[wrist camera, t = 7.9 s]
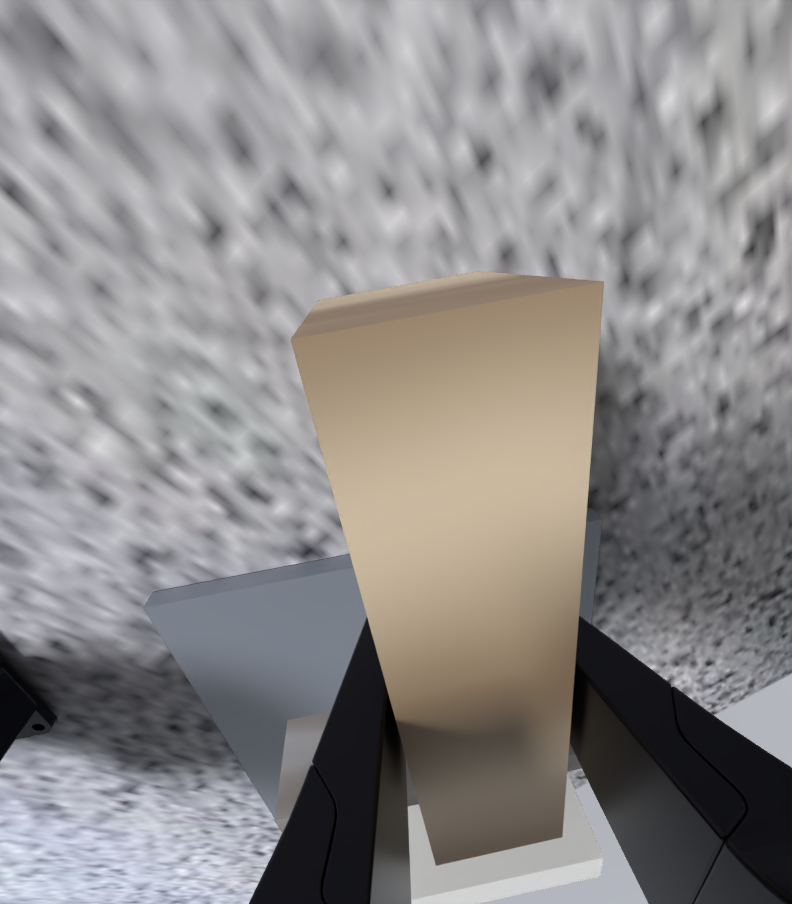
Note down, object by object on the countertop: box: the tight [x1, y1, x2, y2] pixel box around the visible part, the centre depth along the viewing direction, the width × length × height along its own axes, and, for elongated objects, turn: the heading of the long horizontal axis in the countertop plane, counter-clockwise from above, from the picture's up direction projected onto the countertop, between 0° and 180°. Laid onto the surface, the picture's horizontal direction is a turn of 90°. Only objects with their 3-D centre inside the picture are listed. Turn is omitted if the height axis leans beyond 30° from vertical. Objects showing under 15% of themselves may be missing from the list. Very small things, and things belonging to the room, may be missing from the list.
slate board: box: [143, 508, 603, 818], centre depth 20 cm, size 18×18×1 cm
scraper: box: [274, 271, 604, 866], centre depth 8 cm, size 13×11×4 cm
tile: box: [408, 773, 604, 904], centre depth 16 cm, size 7×2×7 cm, turn 99°
